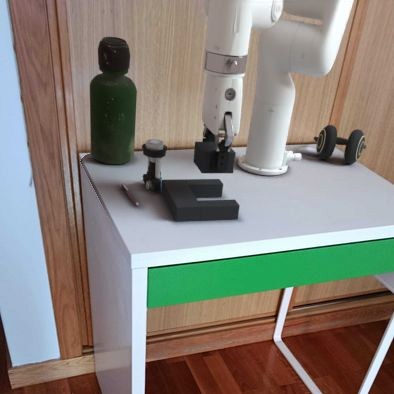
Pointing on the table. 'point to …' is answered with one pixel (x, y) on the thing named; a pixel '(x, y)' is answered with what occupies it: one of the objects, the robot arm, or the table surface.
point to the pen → (129, 194)
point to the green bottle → (113, 104)
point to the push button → (153, 164)
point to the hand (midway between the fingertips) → (213, 164)
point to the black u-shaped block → (198, 209)
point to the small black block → (209, 157)
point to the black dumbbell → (330, 139)
